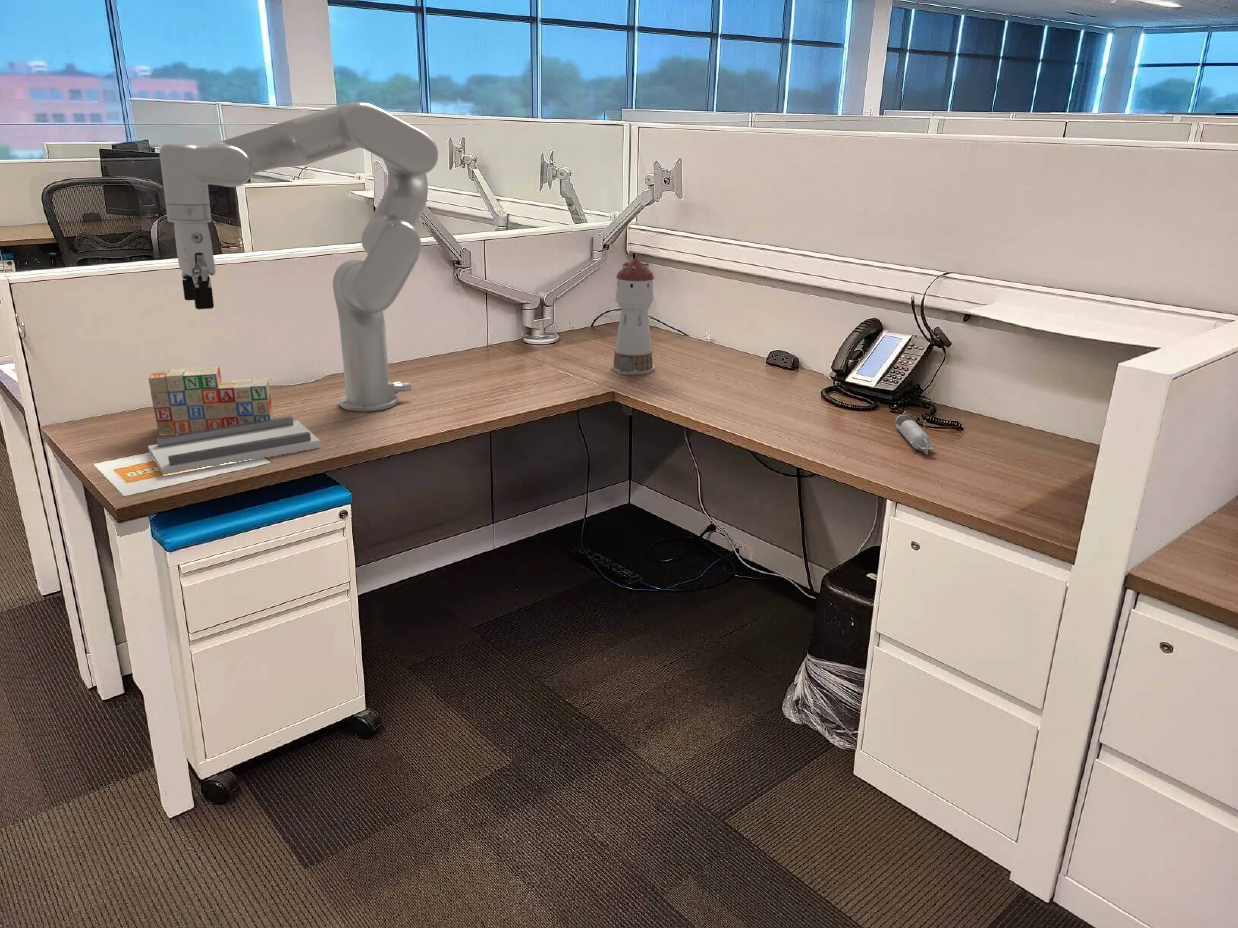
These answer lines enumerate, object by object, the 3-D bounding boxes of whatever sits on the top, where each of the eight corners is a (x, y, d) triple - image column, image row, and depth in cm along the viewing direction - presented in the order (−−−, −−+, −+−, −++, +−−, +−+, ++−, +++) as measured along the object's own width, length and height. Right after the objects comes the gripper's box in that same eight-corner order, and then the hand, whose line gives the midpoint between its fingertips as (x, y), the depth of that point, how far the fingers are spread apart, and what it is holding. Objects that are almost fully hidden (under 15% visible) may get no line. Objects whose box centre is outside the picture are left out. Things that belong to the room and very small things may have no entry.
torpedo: (888, 427, 193) (892, 398, 190) (910, 428, 193) (914, 399, 190) (914, 458, 176) (919, 426, 174) (938, 458, 176) (943, 427, 174)
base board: (298, 427, 184) (297, 413, 183) (320, 447, 174) (319, 433, 173) (149, 453, 169) (146, 438, 168) (163, 476, 159) (160, 461, 158)
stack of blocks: (274, 419, 189) (267, 363, 185) (271, 429, 184) (264, 371, 179) (163, 426, 184) (153, 368, 179) (157, 436, 178) (147, 377, 174)
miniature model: (655, 364, 237) (660, 249, 226) (652, 376, 226) (656, 256, 215) (614, 362, 238) (616, 247, 227) (608, 374, 227) (610, 254, 216)
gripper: (221, 218, 164) (230, 311, 170) (200, 209, 177) (209, 295, 183) (176, 218, 160) (187, 313, 166) (158, 209, 173) (169, 297, 179)
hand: (199, 304), depth 174 cm, fingers open, 9 cm apart
